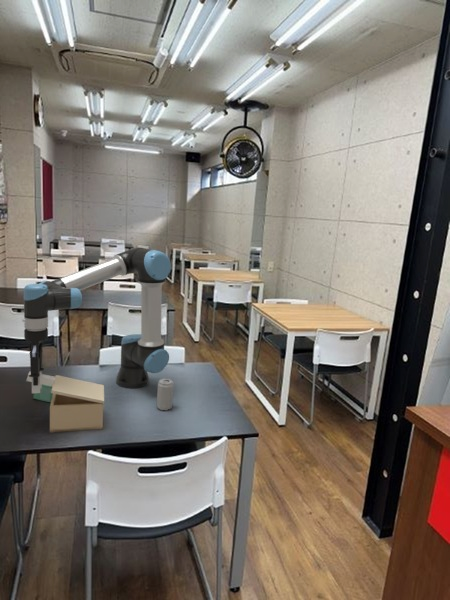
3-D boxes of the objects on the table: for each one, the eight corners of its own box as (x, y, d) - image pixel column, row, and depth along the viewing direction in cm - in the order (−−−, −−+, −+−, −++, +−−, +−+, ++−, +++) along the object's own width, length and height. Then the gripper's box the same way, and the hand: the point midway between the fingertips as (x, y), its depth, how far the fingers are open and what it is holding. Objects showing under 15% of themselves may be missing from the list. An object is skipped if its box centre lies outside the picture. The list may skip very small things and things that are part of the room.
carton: (102, 411, 162) (103, 388, 160) (102, 429, 148) (103, 404, 146) (53, 413, 156) (54, 389, 154) (49, 432, 143) (49, 406, 141)
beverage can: (174, 406, 171) (176, 380, 169) (167, 412, 165) (169, 385, 163) (161, 403, 173) (162, 376, 171) (153, 409, 167) (155, 382, 165)
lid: (103, 387, 160) (105, 381, 159) (103, 403, 146) (105, 397, 146) (30, 371, 150) (32, 365, 150) (23, 387, 137) (25, 380, 137)
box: (61, 405, 163) (61, 388, 162) (32, 399, 166) (32, 382, 165) (72, 398, 170) (72, 381, 169) (44, 392, 173) (44, 376, 172)
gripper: (28, 322, 147) (29, 382, 152) (20, 335, 132) (21, 401, 137) (50, 322, 149) (50, 381, 154) (44, 334, 134) (45, 399, 139)
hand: (36, 390), depth 145 cm, fingers closed on lid, 3 cm apart
